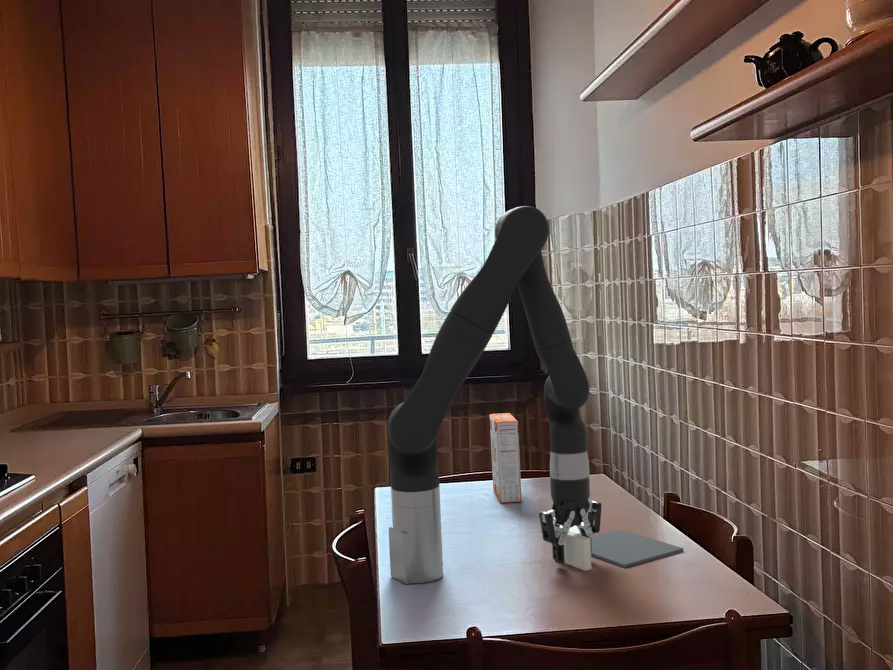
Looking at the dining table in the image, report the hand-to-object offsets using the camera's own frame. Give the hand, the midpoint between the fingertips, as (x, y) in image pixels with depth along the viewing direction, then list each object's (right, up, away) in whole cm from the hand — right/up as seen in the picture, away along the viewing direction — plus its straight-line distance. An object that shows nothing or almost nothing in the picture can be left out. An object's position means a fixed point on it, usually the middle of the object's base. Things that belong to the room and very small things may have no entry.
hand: (572, 559), depth 167 cm
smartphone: (+2, 0, +26) cm, 27 cm away
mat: (+11, 0, +8) cm, 14 cm away
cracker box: (-9, +1, +56) cm, 56 cm away
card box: (0, -1, 0) cm, 1 cm away
